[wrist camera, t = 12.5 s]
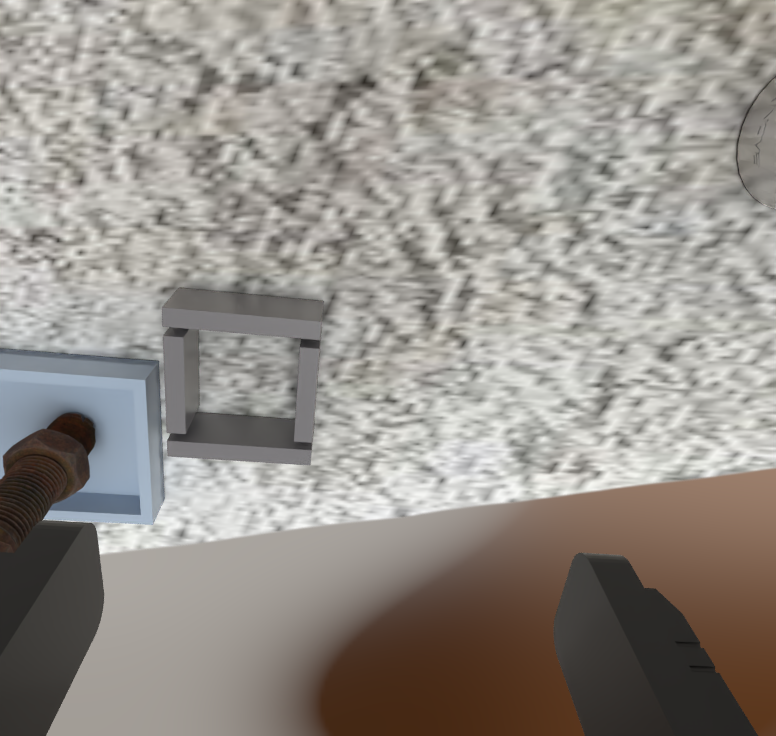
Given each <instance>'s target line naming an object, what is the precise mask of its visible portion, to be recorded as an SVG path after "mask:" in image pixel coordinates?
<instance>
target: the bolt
mask: <svg viewBox="0 0 776 736" xmlns="http://www.w3.org/2000/svg"><path fill="white" fill-rule="evenodd" d="M93 425H94V423H93V422H92V421H91V420H90V419H88V418H87V417H85V419H84V421H83V420H82V418H81V415H80V414H77V413H65V414H62V415H60V416H59V417H57V418H56V419H55V420H54V421H53V422H52V423H51V424H50V425H49V426H48V427H47V429H41V430H38V431H36V432H34V433H32V434H30V435H28V436H27V437H25V438H24V439H22V440H20V441H19V442H17V443H16V444H14V445H13V446H12V447H11V448H10V449H9V450H8V451H7V452H6V453H5V454H4V455H3V468H4V473H5V475H4V476H3V477H2V479H0V552H8V553H14V552H15V551H16V550H17V548H18V547H19V546H20V544H21V543H22V542H23V540H24V539H25V538H26V537H27V535H28V534H29V533H30V531H31V530H32V529H33V527H34V526H35V525H36V524H37V523H38V522H40V521H42V520H43V519H44V517H45V516H46V514H47V513H48V511H49V509H50V508H51V506H52V505H53V504H55V503H58V502H61V501H63V500H65V499H67V498H68V497H70V496H72V495H73V494H75V493H76V492H78V491H79V490H80V489H82V488H83V487H84V486H85V484H86V483H87V481H88V480H89V478H90V466H89V460H88V455H89V454H90V452H91V451H92V449H93V448H94V446H95V443H96V439H95V428H94V427H93Z"/></svg>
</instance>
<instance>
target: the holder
mask: <svg viewBox="0 0 776 736" xmlns="http://www.w3.org/2000/svg"><path fill="white" fill-rule="evenodd" d="M323 304H324V301H316V300H306V299H295V298H284V297H274V296H263V295H252V294H242V293H231V292H220V291H209V290H199V289H188V288H178V290H177V291H176V292H175V293H174V294H173V295H172V296H171V298H170V299H169V300H168V301H167V302H166V303H165V305H164V306H163V307H162V323H163V327H169V329H168V330H167V331H166V332H165V334H164V335H163V349H164V375H165V401H166V426H167V433H171V434H170V436H169V438H168V440H167V452H168V456H171V457H187V458H202V459H218V460H234V461H250V462H265V463H281V464H297V465H310V464H311V453H312V443H313V432H314V418H315V406H316V394H317V381H318V368H319V355H320V343H321V330H322V317H323ZM199 330H209V331H221V332H232V333H244V334H255V335H267V336H278V337H290V338H302V339H301V344H300V354H299V370H298V385H297V401H296V417H295V419H283V418H269V417H255V416H241V415H227V414H214V413H200V412H196V411H197V409H198V407H199V405H200V404H199Z"/></svg>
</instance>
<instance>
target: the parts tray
mask: <svg viewBox="0 0 776 736" xmlns="http://www.w3.org/2000/svg"><path fill="white" fill-rule="evenodd" d="M65 413H77V414H80V415H81V418H82V420H83V421H84V419H85V417H87V418H88V419H90V420H91V421H92V422H93V423H94V425H93V427H94V428H95V439H96V443H95V446H94V448H93V449H92V451H91V452H90V454H89V455H88V460H89V466H90V478H89V480H88V481H87V483H86V484H85V486H84V487H83V488H82V489H80V490H79V491H78V492H76V493H75V494H73V495H72V496H70V497H68V498H67V499H65V500H63V501H61V502H58V503H55V504H53V505H52V506H51V508H50V509H49V511H48V513H47V514H46V516H45V517H44V519H52V520H71V521H91V522H110V523H130V524H149V525H153V524H154V521H155V519H156V517H157V515H158V512H159V510H160V508H161V506H162V504H163V501H164V499H165V497H164V474H163V450H162V427H161V404H160V380H159V361H150V360H138V359H125V358H113V357H100V356H88V355H76V354H63V353H51V352H38V351H26V350H13V349H1V348H0V479H2V477H3V476H4V475H5V473H4V468H3V455H4V454H5V453H6V452H7V451H8V450H9V449H10V448H11V447H12V446H13V445H14V444H16V443H17V442H19V441H20V440H22V439H24V438H25V437H27V436H28V435H30V434H32V433H34V432H36V431H38V430H41V429H47V427H48V426H49V425H50V424H51V423H52V422H53V421H54V420H55V419H56V418H57V417H59V416H60V415H62V414H65Z"/></svg>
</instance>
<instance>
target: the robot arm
mask: <svg viewBox="0 0 776 736" xmlns="http://www.w3.org/2000/svg"><path fill="white" fill-rule="evenodd" d="M737 160H738V166H739V172H740V176H741V178H742V181H743V183H744V185H745V187H746V189H747V190H748V191H749V192H750V194H751V195H752V196H753V197H754V198H755V199H756V200H758V201H759V202H760V203H762V204H763V205H765V206H768V207H771V208H773V209H776V77H775V78H774V79H773V80H772V81H771V82H770V83H769V84H768V85H767V87H766V88H765V89H764V90H763V91H762V92H761V93H760V95H759V96H758V98H757V99H756V101H755V102H754V104H753V105H752V107H751V109H750V110H749V112H748V115H747V117H746V119H745V122H744V124H743V126H742V130H741V134H740V138H739V142H738V158H737ZM103 604H104V589H103V580H102V572H101V564H100V555H99V546H98V538H97V531H96V528H95V526H94V525H93V524H92V523H83V522H65V521H48V520H43V521H40V522H38V523H37V524H36V525H35V526H34V527H33V529H32V530H31V531H30V533H29V534H28V535H27V537H26V538H25V539H24V540H23V542H22V543H21V544H20V546H19V547H18V548H17V550H16V551H15V552H14V553H8V552H0V736H46V734H47V732H48V730H49V728H50V726H51V724H52V722H53V720H54V718H55V716H56V714H57V712H58V710H59V708H60V706H61V704H62V702H63V700H64V698H65V696H66V694H67V692H68V690H69V688H70V686H71V683H72V681H73V679H74V677H75V675H76V673H77V671H78V669H79V667H80V665H81V663H82V661H83V659H84V657H85V655H86V653H87V651H88V649H89V647H90V644H91V642H92V641H93V638H94V636H95V634H96V632H97V629H98V627H99V623H100V620H101V616H102V611H103ZM554 642H555V649H556V654H557V657H558V660H559V662H560V666H561V668H562V671H563V674H564V677H565V680H566V683H567V686H568V688H569V691H570V694H571V696H572V700H573V703H574V705H575V708H576V711H577V714H578V717H579V720H580V723H581V725H582V728H583V731H584V734H585V736H758V735H757V733H756V732H755V730H754V728H753V727H752V725H751V724H750V722H749V720H748V719H747V717H746V716H745V714H744V712H743V711H742V709H741V708H740V706H739V705H738V703H737V701H736V700H735V698H734V696H733V695H732V693H731V692H730V690H729V688H728V687H727V685H726V683H725V682H724V680H723V679H722V677H721V675H720V674H719V673H716V672H715V666H714V664H713V663H712V661H711V659H710V658H709V656H708V654H707V653H706V651H705V650H704V648H701V647H700V642H699V640H698V638H697V637H696V635H695V634H694V632H693V630H692V629H691V627H690V625H689V624H688V622H687V621H686V619H685V617H684V616H683V614H682V613H681V612H680V611H679V610H678V609H677V608H676V607H674V606H673V605H672V604H671V603H670V602H669V601H668V600H667V599H666V598H665V597H664V596H663V595H662V594H661V593H659V592H658V591H657V590H656V589H651V588H644V587H643V585H642V583H641V582H640V580H639V578H638V576H637V575H636V573H635V571H634V570H633V568H632V566H631V564H630V563H629V561H628V560H627V559H626V558H625V557H624V556H621V555H608V554H591V553H578V554H577V555H576V556H575V557H574V559H573V561H572V564H571V567H570V570H569V574H568V577H567V580H566V583H565V587H564V590H563V593H562V596H561V599H560V603H559V606H558V609H557V612H556V616H555V621H554Z"/></svg>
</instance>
